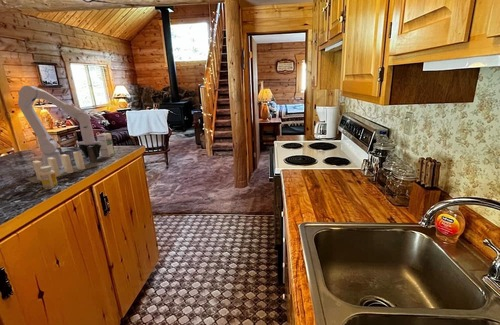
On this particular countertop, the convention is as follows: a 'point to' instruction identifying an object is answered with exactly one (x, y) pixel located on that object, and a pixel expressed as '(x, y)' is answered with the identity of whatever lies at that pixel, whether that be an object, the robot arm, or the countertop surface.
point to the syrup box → (106, 145)
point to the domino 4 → (79, 160)
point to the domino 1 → (37, 168)
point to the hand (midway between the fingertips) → (92, 157)
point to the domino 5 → (91, 155)
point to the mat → (62, 172)
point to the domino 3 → (66, 163)
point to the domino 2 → (54, 165)
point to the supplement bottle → (48, 177)
